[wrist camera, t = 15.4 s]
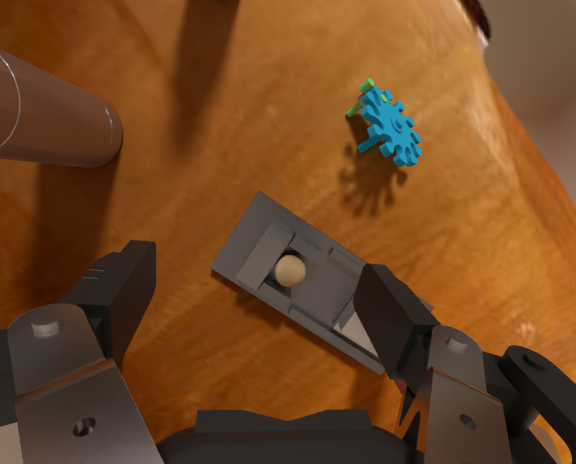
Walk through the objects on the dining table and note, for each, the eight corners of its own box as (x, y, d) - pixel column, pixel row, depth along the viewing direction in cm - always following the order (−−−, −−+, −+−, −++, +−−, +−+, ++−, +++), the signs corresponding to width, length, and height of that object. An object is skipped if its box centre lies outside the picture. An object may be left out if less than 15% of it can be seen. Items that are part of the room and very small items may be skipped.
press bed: (212, 264, 39) (201, 275, 34) (260, 191, 38) (255, 191, 33) (377, 369, 42) (389, 393, 37) (428, 303, 40) (448, 319, 35)
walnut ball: (275, 281, 38) (273, 292, 34) (274, 252, 38) (272, 259, 34) (305, 280, 38) (307, 291, 34) (304, 251, 38) (306, 258, 34)
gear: (436, 153, 35) (402, 169, 29) (395, 175, 40) (358, 193, 33) (395, 74, 36) (352, 73, 29) (358, 105, 40) (314, 110, 34)
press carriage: (332, 324, 39) (372, 453, 20) (362, 283, 38) (434, 377, 19) (391, 362, 40) (484, 522, 21) (423, 323, 39) (549, 451, 20)
